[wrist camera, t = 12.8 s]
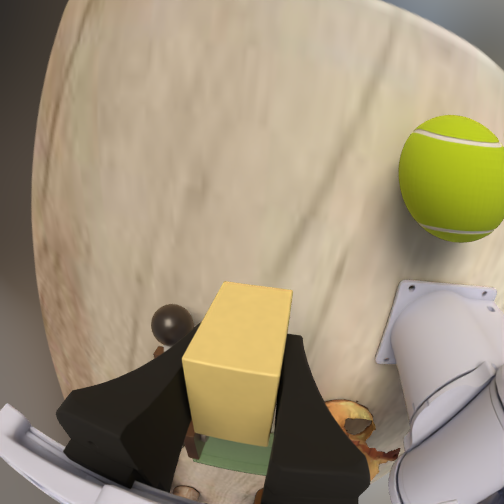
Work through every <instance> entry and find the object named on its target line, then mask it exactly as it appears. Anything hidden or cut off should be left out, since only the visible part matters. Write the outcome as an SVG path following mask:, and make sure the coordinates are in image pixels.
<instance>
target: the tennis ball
mask: <svg viewBox="0 0 504 504" xmlns="http://www.w3.org/2000/svg"><path fill="white" fill-rule="evenodd" d="M399 184H400V190H401V193H402V197H403V200H404V202H405V205H406V207H407V209H408V210H409V212H410V214H411V215H412V217H413V218H414V219H415V220H416V221H417V223H418V224H419V225H420V226H421V227H422V228H424V229H425V230H426V231H427V232H429V233H430V234H432V235H434V236H436V237H438V238H440V239H443V240H446V241H451V242H459V243H464V242H471V241H475V240H479V239H481V238H483V237H485V236H487V235H489V234H490V233H492V232H493V231H494V229H495V228H497V227H498V226H499V225H500V223H501V222H502V221H503V219H504V147H503V146H502V144H501V143H500V142H499V140H498V138H497V137H496V136H495V135H494V134H493V133H492V132H491V131H490V130H489V129H487V128H486V127H485V126H483V125H482V124H480V123H478V122H476V121H474V120H472V119H470V118H467V117H463V116H457V115H444V116H439V117H435V118H432V119H430V120H428V121H426V122H424V123H423V124H421V125H420V126H418V127H417V128H416V129H415V130H414V132H413V133H412V134H411V135H410V136H409V138H408V139H407V141H406V143H405V145H404V147H403V150H402V153H401V156H400V162H399Z"/></svg>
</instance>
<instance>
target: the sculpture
mask: <svg viewBox="0 0 504 504" xmlns="http://www.w3.org/2000/svg"><path fill="white" fill-rule="evenodd" d="M173 494H174V495H177V496H181V497H184V498H187V499H191V500H195V501H197V500H198V497H199V493H198V492H197V491H196V490H194V489H193V488H191V487H188V486H179V487H176V488H175V489H174V491H173Z"/></svg>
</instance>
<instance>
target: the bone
mask: <svg viewBox="0 0 504 504" xmlns="http://www.w3.org/2000/svg"><path fill="white" fill-rule="evenodd" d="M356 402H358V401H356ZM325 404H326V406H327V407H328V409H329V411H330V412H331V414H332V416H333V417H334V418H335V420H336V421H337V423H338V424H339V426H340V427H341V428H342V430H343V431H344V432H345V434H346V435H347V436H348V437H349V439H350V440H351V441H352V442H353V443H354V444H355V445H356V447H357V448H358V449H359V450H360V451H361V452H362V453H363V454H364V455H365V456H366V459H367V462H368V466H369V471H370V482H371V480H373V478H374V477H375V475H376V474H378V473H379V470H378V469H379V468H378V467H380V466H378V465H380V464H382V463H387V462H388V461H394V460H396V459H397V458H398V455H399V452H400V449H401V448H398V449H396V450H395V449H394V451H392V450H391V451H389V452H388V453H385V452H381V451H377V450H376V448H369V447H368V445H367V444H366V443H365V441H366V439H368V437H370V436H371V434H372V431H374V430H376V427H375V424H374V422H373V416H372V415H373V414H371V413H370V412H369V410H368V408H366V407H365V406H363V405H360V404H357V403H355V402H352V401H349V400H331V401H326V402H325ZM347 418H351V419H354V418H361V419H367V420H372V421H371V424H370V425H369V426H367V427H366V428H365V430H364V431H362V432H360V433H358V434H356V435H352V434H350V433H348V432H346V431H348V430H345V428H343V427H345V426H344V425H345V419H347Z"/></svg>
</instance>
